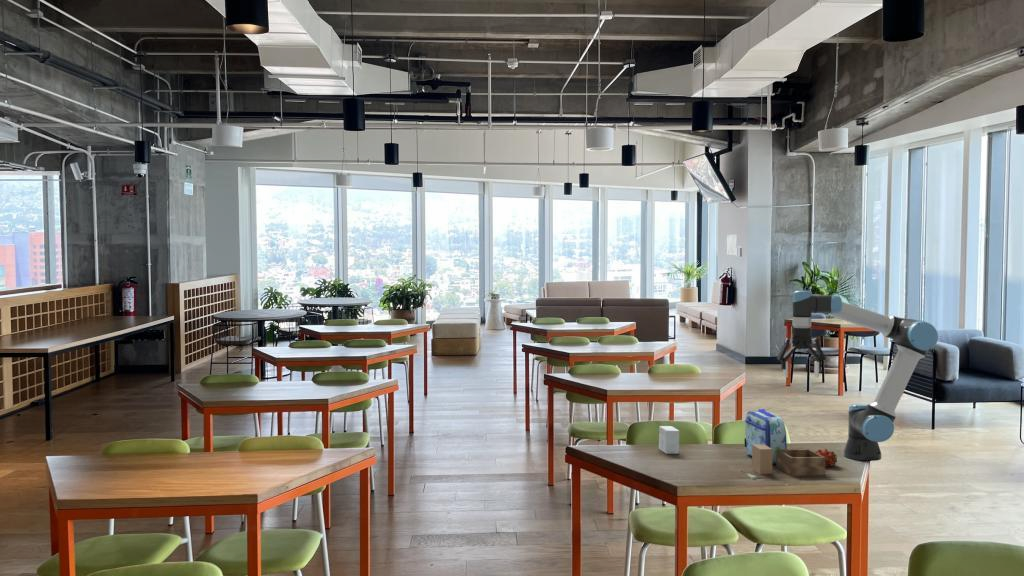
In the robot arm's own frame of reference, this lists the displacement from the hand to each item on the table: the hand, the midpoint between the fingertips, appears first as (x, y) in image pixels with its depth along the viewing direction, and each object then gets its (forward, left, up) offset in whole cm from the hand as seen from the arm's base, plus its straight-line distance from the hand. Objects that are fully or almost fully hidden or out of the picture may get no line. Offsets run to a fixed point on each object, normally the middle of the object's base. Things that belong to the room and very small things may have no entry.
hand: (801, 377), depth 336 cm
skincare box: (+50, -24, -37) cm, 67 cm away
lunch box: (+13, -6, -37) cm, 40 cm away
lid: (+23, +16, -37) cm, 46 cm away
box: (+7, +16, -37) cm, 41 cm away
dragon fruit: (-6, +9, -37) cm, 38 cm away
